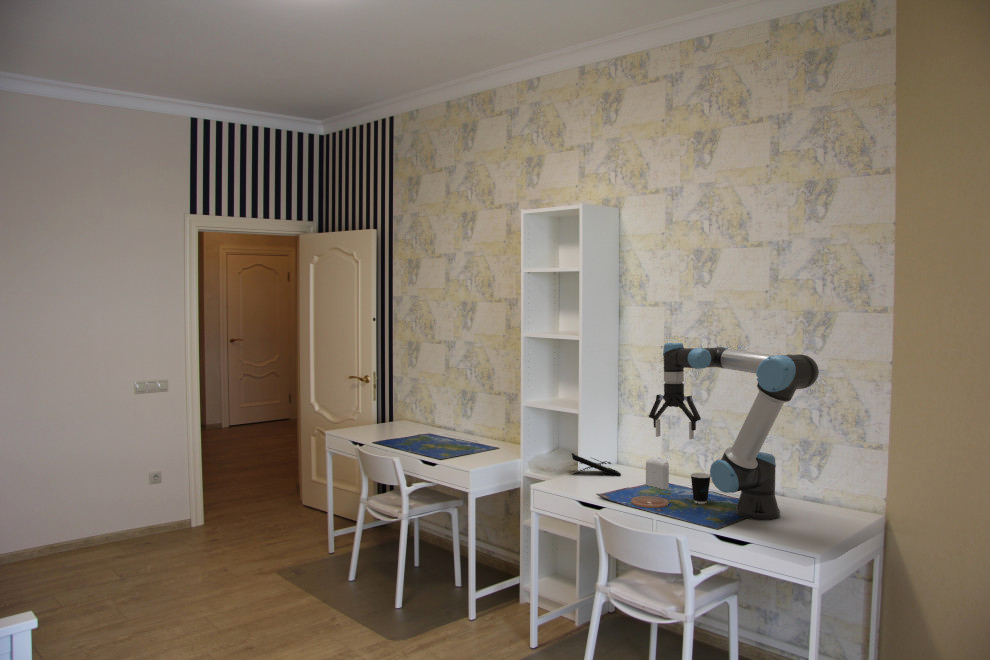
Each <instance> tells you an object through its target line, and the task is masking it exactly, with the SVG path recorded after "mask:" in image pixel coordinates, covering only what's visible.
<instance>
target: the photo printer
mask: <svg viewBox="0 0 990 660" xmlns="http://www.w3.org/2000/svg"><path fill="white" fill-rule="evenodd" d="M669 475H670V465H669V462H668V461H666V460H665V459H663V458H659V457H651V458H647V459H646V461H645V485H646V486H647V485H648V487H651V486H653V487H652V488H655V487H657V488H656V489H659V488H660V489H659V490H668V489H669V487H670V484H669V482H670V480H669V479H670V476H669Z"/></svg>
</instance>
